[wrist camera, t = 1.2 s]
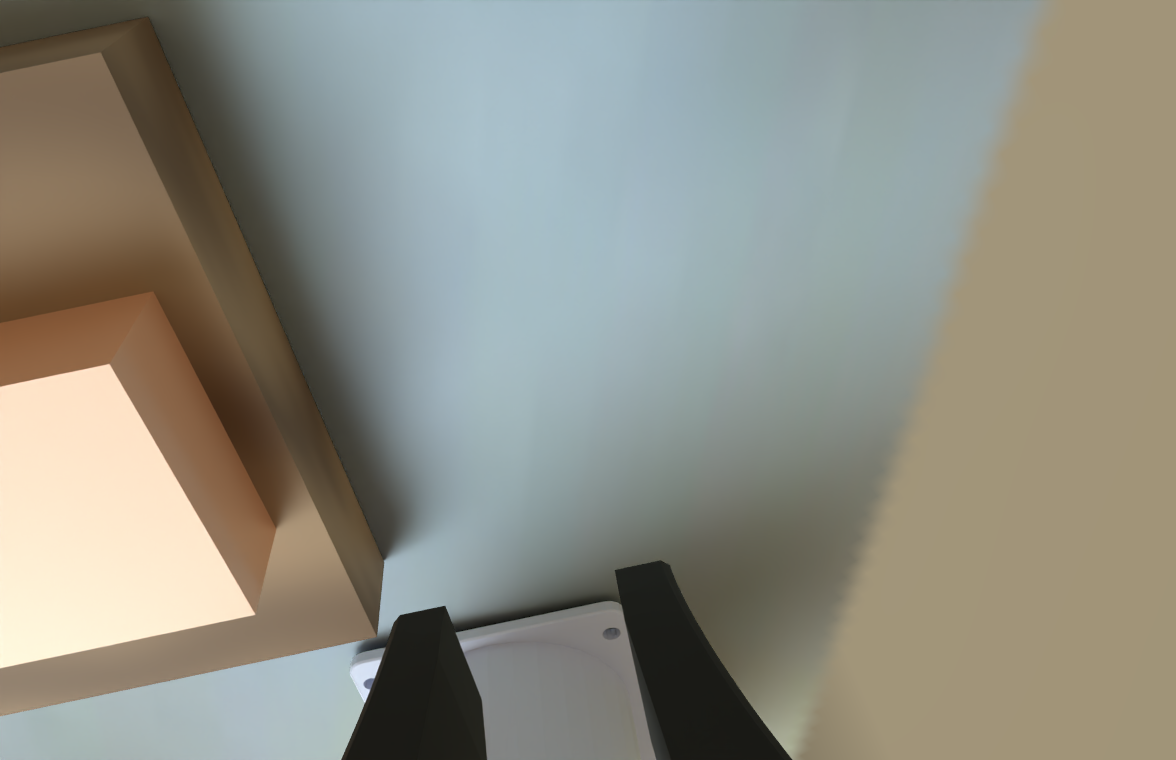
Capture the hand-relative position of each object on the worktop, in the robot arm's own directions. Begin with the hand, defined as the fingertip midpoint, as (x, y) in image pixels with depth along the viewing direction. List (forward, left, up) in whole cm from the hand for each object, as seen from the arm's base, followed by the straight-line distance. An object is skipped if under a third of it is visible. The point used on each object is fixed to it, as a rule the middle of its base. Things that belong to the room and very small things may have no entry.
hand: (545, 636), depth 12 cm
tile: (0, +11, -6) cm, 12 cm away
